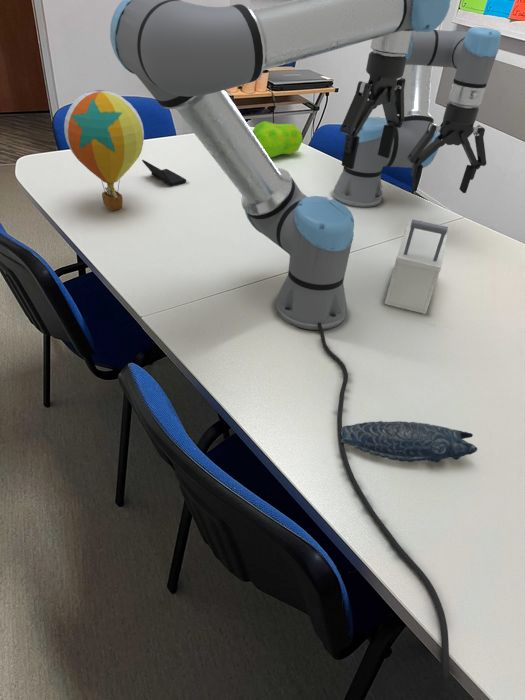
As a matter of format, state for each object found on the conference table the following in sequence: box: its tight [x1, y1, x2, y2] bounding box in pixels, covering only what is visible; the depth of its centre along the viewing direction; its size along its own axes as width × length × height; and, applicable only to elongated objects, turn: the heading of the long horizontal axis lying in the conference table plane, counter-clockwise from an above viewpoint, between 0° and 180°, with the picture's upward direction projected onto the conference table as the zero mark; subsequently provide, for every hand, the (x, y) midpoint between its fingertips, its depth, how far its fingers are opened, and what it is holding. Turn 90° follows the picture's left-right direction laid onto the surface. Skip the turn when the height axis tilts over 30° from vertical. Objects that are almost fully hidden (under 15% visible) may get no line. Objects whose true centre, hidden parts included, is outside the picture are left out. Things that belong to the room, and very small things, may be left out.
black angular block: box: [141, 159, 187, 187], centre depth 162 cm, size 12×7×10 cm
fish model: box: [340, 420, 478, 463], centre depth 82 cm, size 7×21×5 cm, turn 84°
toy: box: [63, 89, 145, 212], centre depth 136 cm, size 20×20×30 cm
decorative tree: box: [252, 120, 303, 159], centre depth 187 cm, size 18×10×30 cm
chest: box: [384, 261, 440, 315], centre depth 119 cm, size 17×9×11 cm, turn 160°
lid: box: [395, 218, 449, 273], centre depth 112 cm, size 18×9×9 cm, turn 160°
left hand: (365, 161), depth 115 cm, fingers open, 13 cm apart
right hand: (438, 190), depth 137 cm, fingers open, 13 cm apart
